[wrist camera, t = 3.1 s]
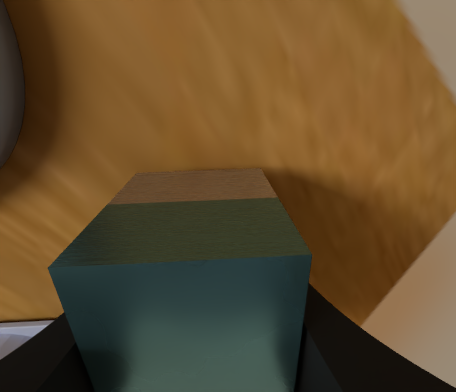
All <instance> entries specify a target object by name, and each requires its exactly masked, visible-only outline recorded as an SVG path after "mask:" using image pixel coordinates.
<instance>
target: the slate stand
mask: <svg viewBox="0 0 456 392" xmlns="http://www.w3.org/2000/svg"><path fill="white" fill-rule="evenodd" d="M24 107H25V83H24V75H23V67H22V60H21V56H20V52H19V48H18V44H17V40H16V36H15V32H14V29H13V27H12V24H11V21H10V18H9V16H8V13H7V10H6V7H5V5H4V2H3V0H0V168H1V167H2V166H3V164H4V163H5V162H6V161H7V159H8V158H9V156H10V154H11V152H12V150H13V148H14V146H15V145H16V142H17V139H18V136H19V133H20V130H21V127H22V120H23V114H24Z"/></svg>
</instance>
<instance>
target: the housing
mask: <svg viewBox="0 0 456 392" xmlns="http://www.w3.org/2000/svg"><path fill="white" fill-rule="evenodd" d="M311 259H312V253H311V252H310V250H309V248H308V247H307V245H306V243H305V242H304V240H303V238H302V237H301V235H300V233H299V232H298V230H297V228H296V227H295V225H294V223H293V222H292V220H291V218H290V217H289V215H288V213H287V212H286V210H285V208H284V207H283V205H282V203H281V202H280V200H279V198H278V197H277V195H276V193H275V192H274V190H273V188H272V187H271V185H270V183H269V182H268V180H267V178H266V177H265V175H264V173H263V172H262V170H261V168H256V169H229V170H202V171H174V172H147V173H136V174H135V175H134V176H133V177H132V178H131V180H130V181H129V182H128V183H127V184H126V185H125V186H124V187H123V188H122V189H121V190H120V191H119V192H118V193H117V195H116V196H115V197H114V198H113V199H112V200H111V201H110V202H109V203H108V204H107V205H106V206H105V207H104V208H103V209H102V211H101V212H100V213H99V214H98V215H97V216H96V217H95V218H94V219H93V220H92V221H91V222H90V223H89V224H88V226H87V227H86V228H85V229H84V230H83V231H82V232H81V233H80V234H79V235H78V236H77V237H76V238H75V239H74V241H73V242H72V243H71V244H70V245H69V246H68V247H67V248H66V249H65V250H64V251H63V252H62V253H61V254H60V255H59V257H58V258H57V259H56V260H55V261H54V262H53V263H52V264H51V265H50V266H49V267H48V270H49V273H50V275H51V278H52V280H53V283H54V286H55V288H56V291H57V294H58V296H59V299H60V301H61V304H62V307H63V309H64V312H65V315H66V317H67V320H68V322H69V325H70V328H71V330H72V333H73V335H74V338H75V341H76V343H77V346H78V349H79V351H80V354H81V356H82V359H83V362H84V364H85V367H86V370H87V372H88V375H89V377H90V380H91V383H92V385H93V388H94V391H95V392H294V386H295V379H296V371H297V364H298V356H299V349H300V341H301V334H302V327H303V319H304V312H305V304H306V297H307V289H308V282H309V274H310V267H311Z"/></svg>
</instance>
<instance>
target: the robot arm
mask: <svg viewBox="0 0 456 392" xmlns="http://www.w3.org/2000/svg"><path fill="white" fill-rule="evenodd" d="M0 392H95V391H94V388H93V385H92V383H91V380H90V377H89V375H88V372H87V370H86V367H85V364H84V362H83V359H82V356H81V354H80V351H79V349H78V346H77V343H76V341H75V338H74V335H73V333H72V330H71V328H70V325H69V322H68V320H67V317H66V315H65V312H64V313H63V314H62V315H60V316H59V317H58V318H57V319H55V320H50V321H32V322H13V323H0ZM294 392H456V388H455V387H453V386H451V385H449V384H448V383H446V382H444V381H442V380H441V379H439V378H437V377H436V376H434V375H432V374H431V373H429V372H427V371H425V370H424V369H422V368H420V367H419V366H417V365H415V364H414V363H412V362H411V361H409V360H407V359H406V358H404V357H403V356H401V355H399V354H398V353H396V352H395V351H393V350H392V349H390V348H389V347H387V346H386V345H384V344H383V343H382V342H380V341H379V340H377V339H376V338H374V337H373V336H371V335H370V334H368V333H367V332H366V331H364V330H363V329H362V328H360V327H359V326H358V325H357V324H355V323H354V322H353V321H351V320H350V319H349V318H347V317H346V316H345V315H344V314H342V313H341V312H340V311H339V310H338V309H336V308H335V307H334V306H333V305H332V304H331V303H330V302H328V301H327V300H326V299H325V298H324V297H323V296H322V295H321V294H320V293H319V292H318V291H316V290H315V289H314V288H313V287H312V286H311V285H310V284H309V283H308V289H307V297H306V304H305V312H304V319H303V327H302V334H301V341H300V349H299V356H298V364H297V371H296V379H295V386H294Z"/></svg>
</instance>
